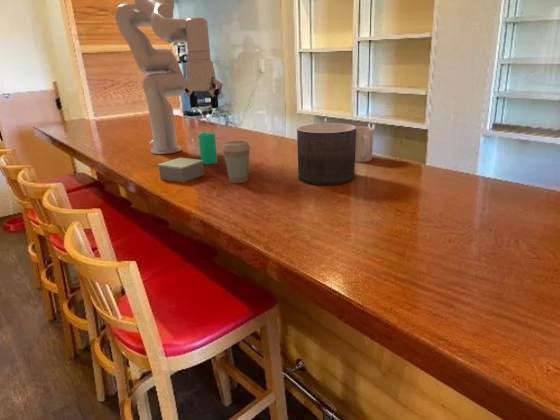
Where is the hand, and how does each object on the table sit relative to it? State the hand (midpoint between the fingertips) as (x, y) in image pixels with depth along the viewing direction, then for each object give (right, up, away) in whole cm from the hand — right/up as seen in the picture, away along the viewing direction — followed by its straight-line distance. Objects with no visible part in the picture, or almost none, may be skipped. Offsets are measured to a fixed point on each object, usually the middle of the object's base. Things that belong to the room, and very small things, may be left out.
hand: (204, 107), depth 152 cm
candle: (+1, -19, +7) cm, 20 cm away
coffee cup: (+14, -28, -18) cm, 36 cm away
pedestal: (-5, -26, -11) cm, 29 cm away
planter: (+42, -27, -18) cm, 53 cm away
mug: (+56, -19, +2) cm, 59 cm away
